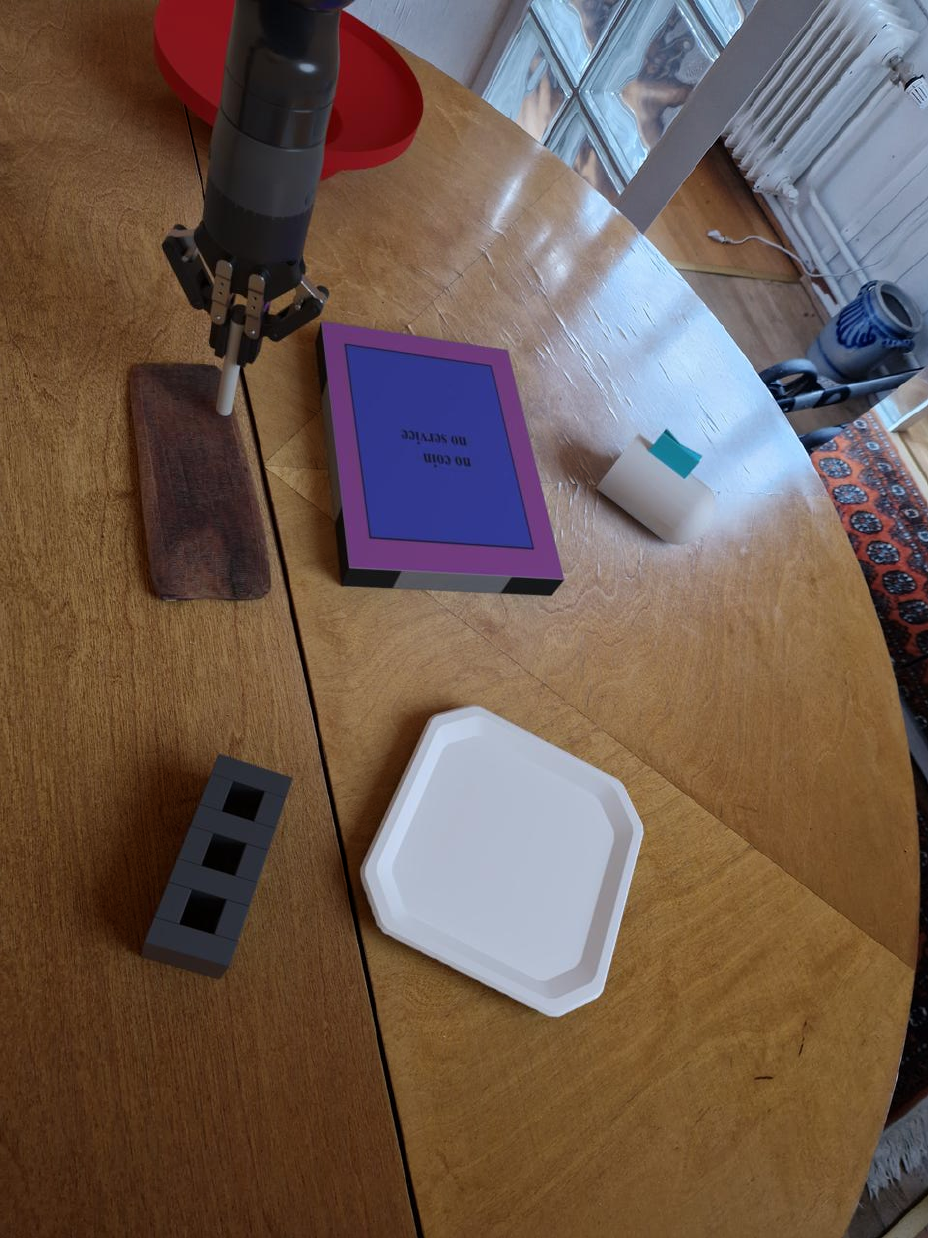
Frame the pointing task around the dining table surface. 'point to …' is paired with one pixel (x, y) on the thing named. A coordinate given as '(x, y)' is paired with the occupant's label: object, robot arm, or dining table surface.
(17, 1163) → the dining table surface
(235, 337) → the stylus
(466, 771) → the plate
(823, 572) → the dining table surface
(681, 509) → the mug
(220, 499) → the wooden tablet
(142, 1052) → the dining table surface
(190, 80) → the bowl
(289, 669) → the dining table surface
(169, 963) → the pen block
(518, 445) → the book
